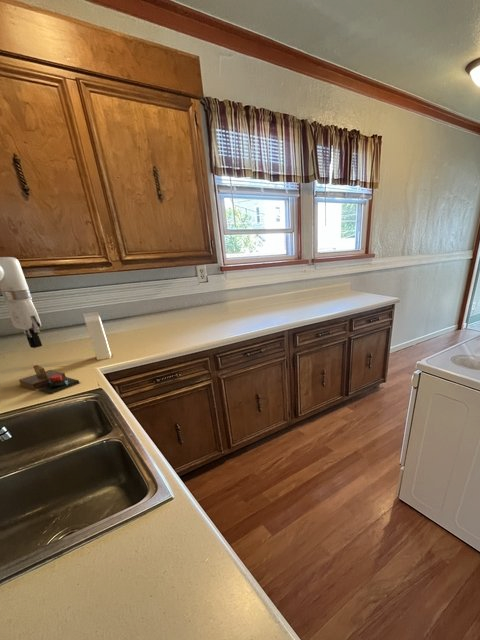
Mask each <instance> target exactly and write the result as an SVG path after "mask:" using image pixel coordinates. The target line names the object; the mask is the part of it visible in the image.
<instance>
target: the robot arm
mask: <svg viewBox="0 0 480 640" xmlns="http://www.w3.org/2000/svg"><path fill="white" fill-rule="evenodd" d="M25 277H26V276H25V274H24V271H23V269H22V266H21V264H20V261H19V259H17V258H16V257H14V256H0V291H1V294H2V297H3V299H4V301H5V303H6V307H7V308H6V309H7V311H8V315H9V317H10V321H11V323H12V326H13V327H14V328H15V329H19V330H21V331H23V334H24V335H25V337H26V339H27V342H28V344H29V347H30V348H32V349H37V348H40V347H42V346H43V343H42V341H41V338H40V333H41V330H40V328H42V322H41V319H40V317H39V314H38V311H37V308H36V306H35V304H34V303H33V301H32V300H33V296H32V294H31V290H30V288H29V285H28V283H27V280H26V278H25Z"/></svg>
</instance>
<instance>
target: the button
mask: <svg viewBox="0 0 480 640" xmlns="http://www.w3.org/2000/svg"><path fill="white" fill-rule="evenodd" d="M50 378H51V381H52V382H56V381H60V380H62V379H63V378H62V376H61V375H54V376H51V377H50Z"/></svg>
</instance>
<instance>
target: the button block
mask: <svg viewBox="0 0 480 640" xmlns="http://www.w3.org/2000/svg"><path fill="white" fill-rule="evenodd" d="M65 376H66V375H65ZM65 376H62V378H63V379H62V380H60V381H56V382H52V381H51V379H49V380H48V381H47V383H48V384H46V385H43V386H40V387H38V391H39V392H43V393H46V394H49V395H53V394H55V393H57V392H61V391H63V390H66V389H69V388H71V387H74V386H77V385H79V384H80V380H79V379H76V378H71V377H67V376H66V377H65Z"/></svg>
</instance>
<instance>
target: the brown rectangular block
mask: <svg viewBox="0 0 480 640" xmlns="http://www.w3.org/2000/svg"><path fill="white" fill-rule="evenodd" d="M32 368H33V370H34V373H35V375H37V376H39V377H41V378H47V375H46V372H45V371H46V370H45V368H44V367H43V366H40V365H38V364H35V365H32Z"/></svg>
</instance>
